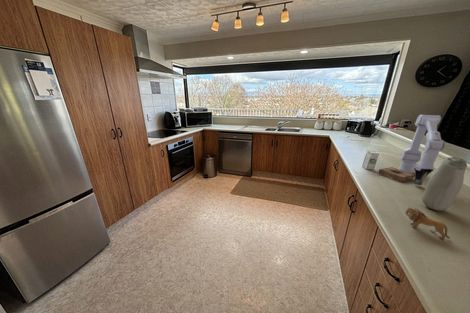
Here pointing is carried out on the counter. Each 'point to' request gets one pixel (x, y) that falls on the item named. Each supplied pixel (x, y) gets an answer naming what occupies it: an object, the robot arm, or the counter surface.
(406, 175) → the bead block
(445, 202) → the white vase
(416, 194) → the counter surface
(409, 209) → the lion figurine
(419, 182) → the grey cylinder
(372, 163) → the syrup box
